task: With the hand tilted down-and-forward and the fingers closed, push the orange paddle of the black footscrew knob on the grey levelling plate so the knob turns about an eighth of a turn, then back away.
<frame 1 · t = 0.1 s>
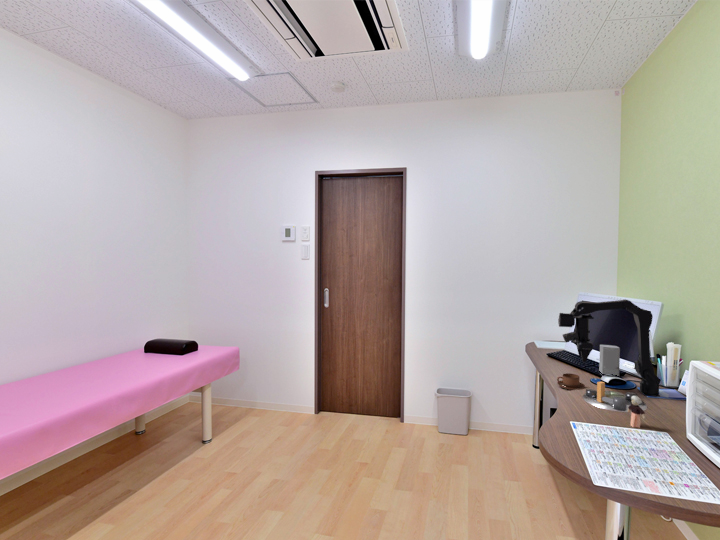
hand: (582, 359, 195), 15 cm above the table, tool pointing down, fingers open, 9 cm apart
footscrew knob: (611, 395, 170), point 6 cm above the table, hinge at 0.0°
levelling plate: (613, 403, 175), on the table
skincare box: (609, 375, 216), on the table
grandmother figurine: (635, 429, 150), on the table
cup and saucer: (570, 388, 197), on the table
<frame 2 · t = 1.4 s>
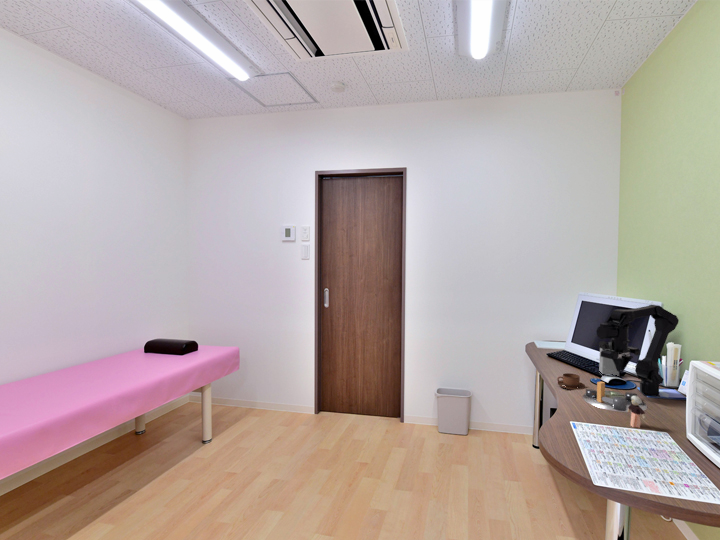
hand: (620, 371, 183), 12 cm above the table, tool pointing down, fingers closed
nothing on the table moved.
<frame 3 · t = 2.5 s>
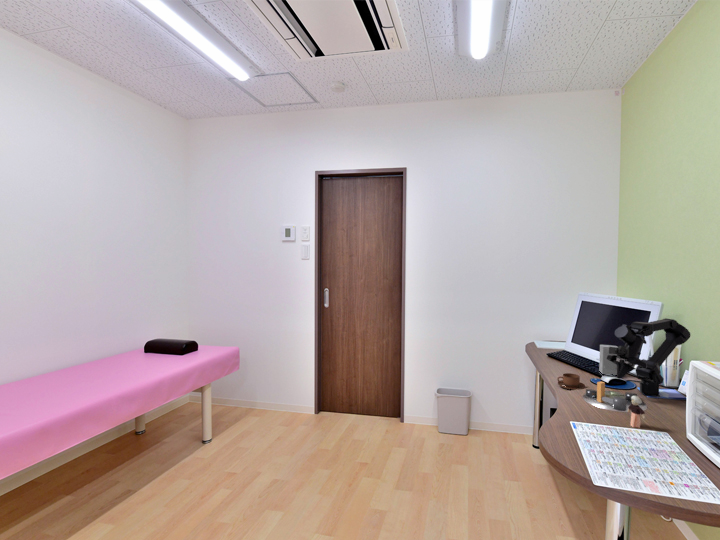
hand: (618, 378, 180), 10 cm above the table, tool tilted 35°, fingers closed
nothing on the table moved.
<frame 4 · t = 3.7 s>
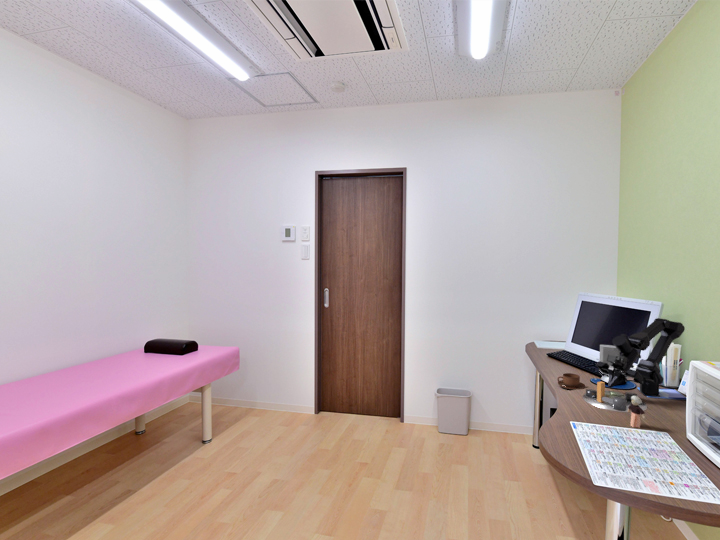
hand: (609, 386, 176), 7 cm above the table, tool tilted 45°, fingers closed
nothing on the table moved.
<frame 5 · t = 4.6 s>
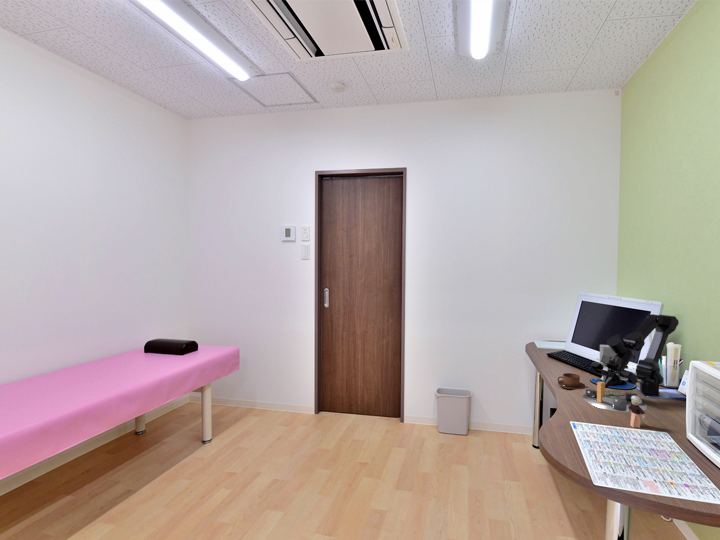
hand: (603, 387, 175), 7 cm above the table, tool tilted 45°, fingers closed, pressing on footscrew knob
footscrew knob: (611, 395, 170), point 6 cm above the table, hinge at 0.0°, touching gripper
everything else where it was.
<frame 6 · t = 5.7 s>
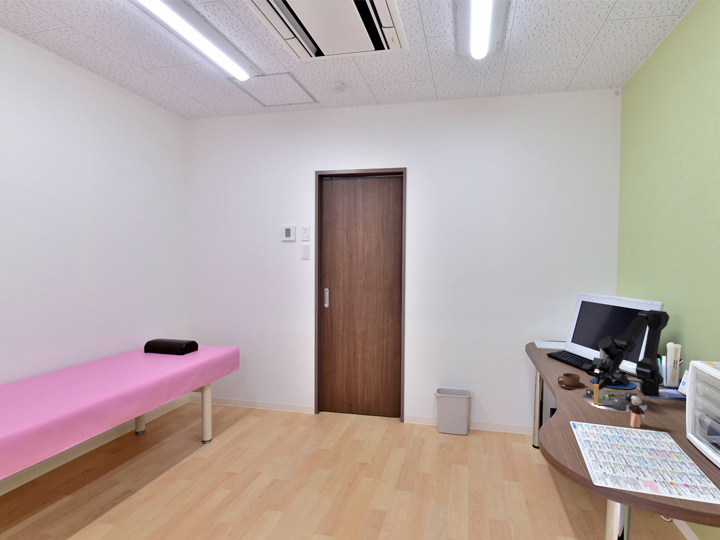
hand: (595, 390, 173), 7 cm above the table, tool tilted 45°, fingers closed
footscrew knob: (609, 396, 168), point 6 cm above the table, hinge at 34.4°, touching gripper
everything else where it was.
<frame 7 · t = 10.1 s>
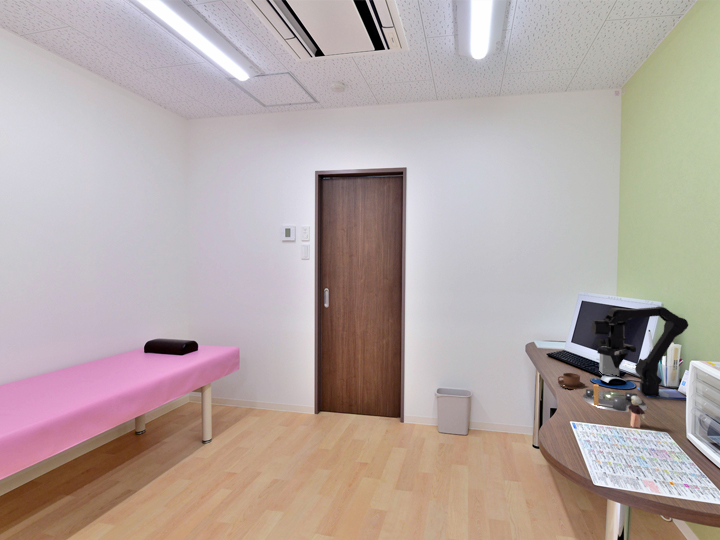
hand: (616, 367, 188), 12 cm above the table, tool pointing down, fingers closed
footscrew knob: (609, 396, 168), point 6 cm above the table, hinge at 37.0°
at the end: footscrew knob at +37° (first picture: +0°); footscrew knob touching nothing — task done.
